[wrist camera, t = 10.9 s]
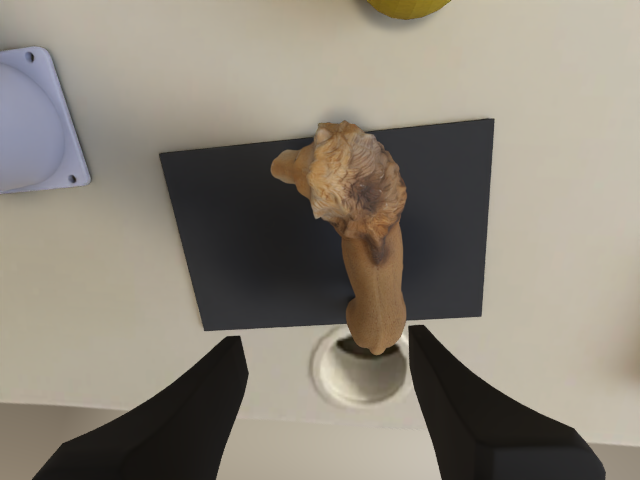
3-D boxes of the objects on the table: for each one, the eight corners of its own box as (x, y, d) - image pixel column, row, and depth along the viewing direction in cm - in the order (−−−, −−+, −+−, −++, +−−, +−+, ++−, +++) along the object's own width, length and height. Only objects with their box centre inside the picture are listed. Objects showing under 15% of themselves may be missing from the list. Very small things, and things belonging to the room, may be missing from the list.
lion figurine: (285, 136, 20) (244, 149, 12) (372, 104, 19) (395, 95, 11) (357, 336, 25) (365, 450, 16) (430, 318, 24) (479, 429, 15)
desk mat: (206, 328, 26) (204, 331, 25) (161, 152, 21) (158, 153, 21) (479, 313, 24) (481, 316, 23) (491, 118, 19) (494, 118, 19)
